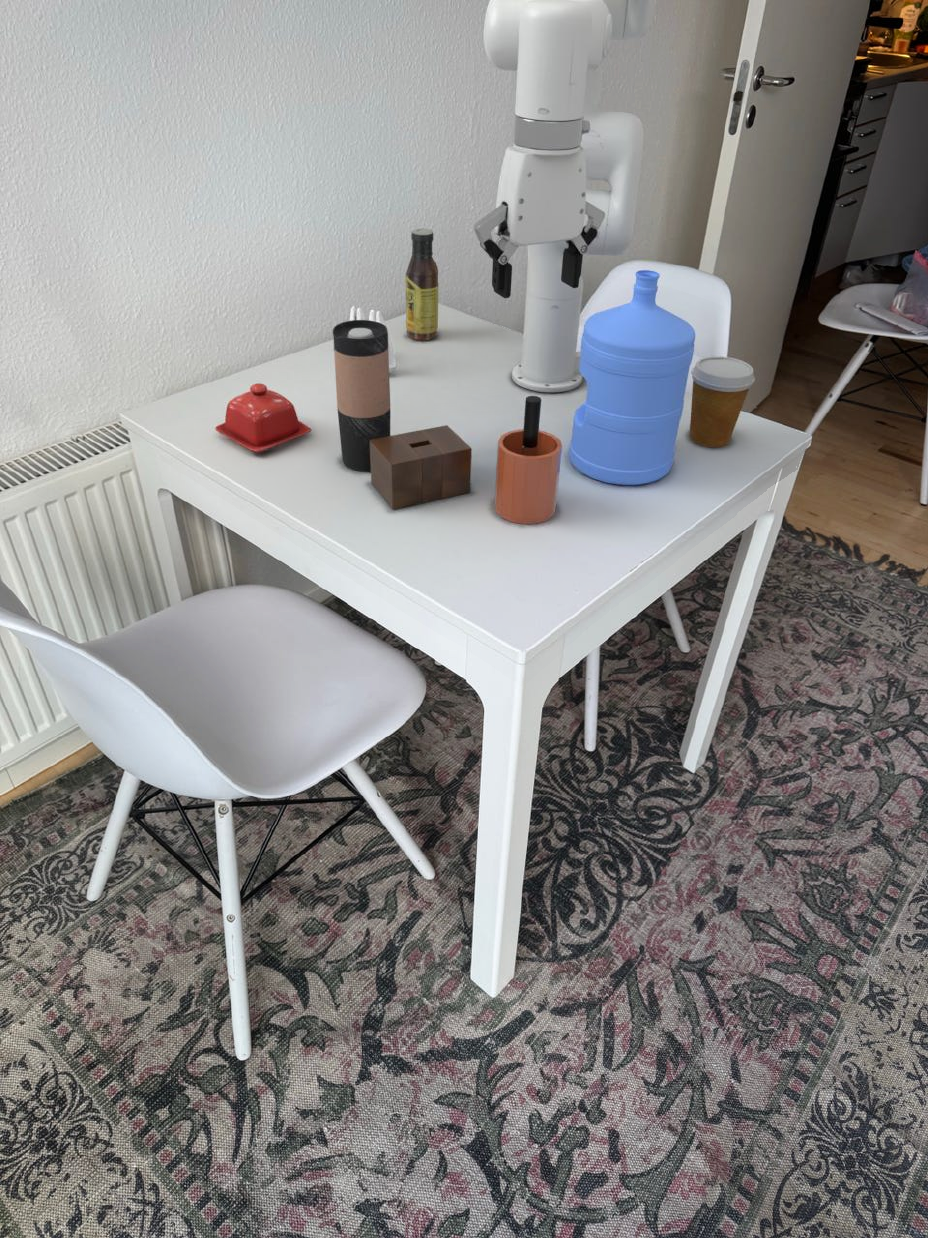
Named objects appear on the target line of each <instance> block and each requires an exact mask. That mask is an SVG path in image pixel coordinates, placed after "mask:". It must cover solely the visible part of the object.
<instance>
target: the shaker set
mask: <svg viewBox="0 0 928 1238" xmlns="http://www.w3.org/2000/svg"><path fill="white" fill-rule="evenodd" d="M364 313H365V312H364V311H363V310H362V308H361V307H357V309H356V306H355V305H353V306H351V307H350V312H349V321H352V320H367V318H366V315H365V314H364ZM368 320H369V321H375V322H379V323H381V324H383V325H385V326H386V327H387V324H386V321H385V318H384V317H383V314H382V312H381V311H380V310H377V311H376V313H375V310H374V309H371V310H370V311H369V315H368ZM390 338H391V337H390V335H389V334H388V353H389V374H390V373H392V372H393V371H395V370H396V369H397V368H398V367H399V365H398V362H397V358H396V354H395V350H394V348H393V344H392V341H391V339H390Z"/></svg>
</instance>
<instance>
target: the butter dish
mask: <svg viewBox="0 0 928 1238" xmlns="http://www.w3.org/2000/svg"><path fill="white" fill-rule="evenodd" d="M224 418H225V419H224V420H225V421H224V422H223V423H221V424H218V425H217V426H215V428H214V429H215V431H216V432H218V433H219V434H221V435H222V436H224V437H226V438H228V439H230V440H231V441H234V442H235V443H237V444H238V445H240V446H241V447H244V448H245V449H247V450H249V451H252V452H254V453H260V452H263V451H266V450H269V449H272V448H274V447H277V446H279V445H281V444H285V443H287V442H290V441H291V440H294V439H297V438H299V437H303V436H304V435H307V434H309V433H310V432H312V428H311V427H310V426H308V425H307V424H305V423H303V422H301V421H300V420H299V418H298V415H297V411H296V408H295V406H294V404H293V403H292V402H291V401H290V400H289V399H287V397H285V396H284V395H282V394H280V393H278V392H276V391H274V390H271V389H268V387H267V385H265V384H264V383H253V384H252V385H251V386H250V387H249V391H247V392H244V393H240V394H239V395H236V396H235V397H234V398H232V399H231V400H229V402H228V403H227V406H226V411H225V417H224Z"/></svg>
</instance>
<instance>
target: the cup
mask: <svg viewBox="0 0 928 1238" xmlns="http://www.w3.org/2000/svg"><path fill="white" fill-rule="evenodd" d="M523 429H524V428H522V429H521V428H520V429H515V430H510V431H507V432H505V433H503V434H502V435H501V436H500V437H499V438H498V440H497V447H496V448H497V449H496V469H495V471H496V472H495V486H494V487H495V489H494V511H495V512H496V513H497V515H498V516H499V517H501V518H502V519H503V520H505V521H508V522H511V523H514V524H520V525H536V524H540V523H544V522H547V521H548V520H550V519H551V518H552V517H553V516H554V515H555V513H556V507H557V499H558V491H559V490H558V489H559V481H560V471H561V460H562V451H563V444H562V442H561V440H560V438H558V437H557V436H555V434H552V433H550V432H547V431H545V430H540V429H539V433H538V447H537V456H525V455H521V454H522V446H523V444H522V443H523Z"/></svg>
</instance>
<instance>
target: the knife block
mask: <svg viewBox="0 0 928 1238" xmlns="http://www.w3.org/2000/svg"><path fill="white" fill-rule="evenodd" d="M370 463H371V471H370V484H371V486H372V487H373V488H374V489H375V490H376V492H377V494H379V496H381V498H382V499H383V500H384V502H386V504H387V505H388V506H389V508H390V509H391V510H392V511H395V510H400V509H404V508H408V507H412V506H417V505H422V504H426V503H430V502H434V501H435V502H436V501H440V500H444V499H447V498H452V497H456V496H457V497H458V496H460V495H461V496H462V495H465V494H470V493H471V482H472V481H471V478H472V447H471V446H470V445H469V444H468V443H467V442H465V441H464V440H463V438H462V437H460V435H458V434H457V433H456V432H455V431H454V430H453V429H452V428H451V427H450V426H449V425H448V424H447V425H445V424H444V425H441V426H435V427H430V428H425V429H420V430H419V429H418V430H414V431H409V432H404V433H398V434H393V435H390V436H387V437H382V438H377V439H372V440H370Z"/></svg>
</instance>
